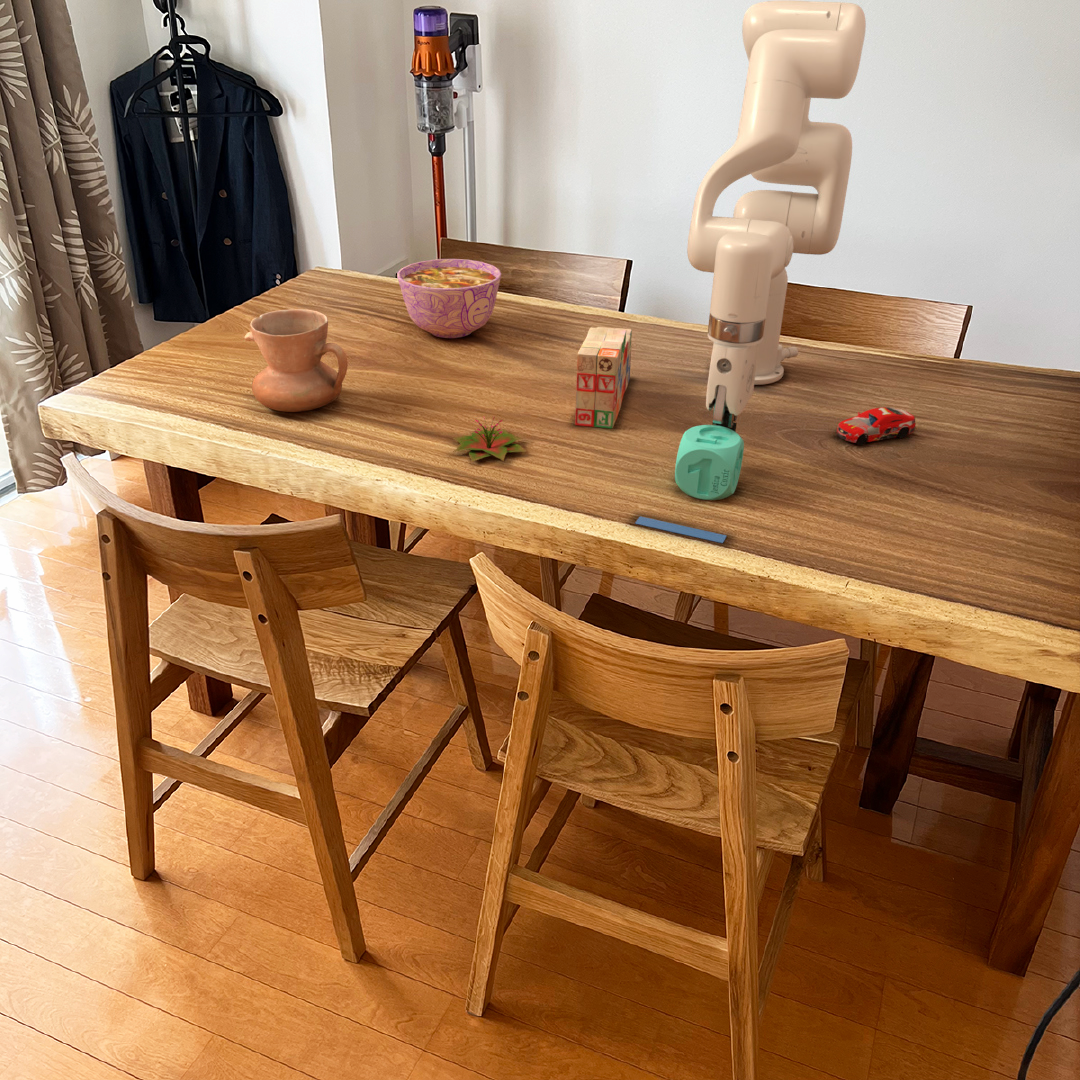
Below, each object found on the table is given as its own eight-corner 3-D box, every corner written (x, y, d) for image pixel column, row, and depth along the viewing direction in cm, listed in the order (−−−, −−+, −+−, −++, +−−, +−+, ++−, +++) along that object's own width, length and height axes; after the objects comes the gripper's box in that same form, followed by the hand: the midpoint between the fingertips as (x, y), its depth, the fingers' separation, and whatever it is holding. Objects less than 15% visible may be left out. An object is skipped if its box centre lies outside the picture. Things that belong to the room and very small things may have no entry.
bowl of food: (499, 350, 186) (498, 289, 180) (393, 348, 186) (389, 288, 180) (504, 315, 203) (503, 259, 197) (407, 313, 203) (404, 257, 197)
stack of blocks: (595, 376, 175) (598, 308, 169) (630, 379, 174) (634, 311, 168) (574, 425, 157) (576, 352, 151) (613, 429, 156) (617, 356, 150)
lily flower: (465, 472, 143) (464, 444, 141) (439, 439, 152) (437, 412, 150) (540, 458, 147) (541, 430, 145) (510, 427, 156) (510, 400, 154)
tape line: (635, 523, 131) (635, 523, 131) (639, 516, 133) (639, 516, 133) (722, 543, 127) (722, 542, 127) (726, 536, 129) (726, 535, 128)
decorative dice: (672, 494, 138) (677, 443, 134) (686, 470, 144) (691, 420, 140) (728, 505, 136) (735, 453, 131) (740, 479, 142) (746, 429, 138)
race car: (848, 448, 151) (852, 425, 149) (828, 434, 156) (832, 411, 154) (919, 436, 155) (924, 413, 153) (898, 422, 159) (902, 400, 157)
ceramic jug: (230, 411, 160) (216, 327, 153) (280, 380, 172) (269, 300, 164) (327, 429, 155) (317, 343, 148) (371, 395, 167) (364, 314, 159)
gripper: (750, 349, 127) (734, 474, 137) (775, 314, 139) (758, 432, 148) (694, 340, 129) (682, 464, 139) (723, 307, 141) (710, 423, 151)
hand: (721, 447), depth 144 cm, fingers closed
